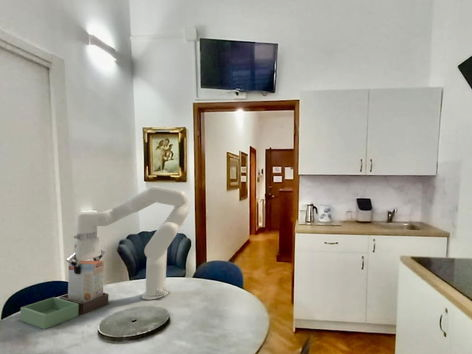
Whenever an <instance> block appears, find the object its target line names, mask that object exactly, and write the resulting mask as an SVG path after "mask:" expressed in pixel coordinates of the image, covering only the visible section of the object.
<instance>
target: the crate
mask: <svg viewBox="0 0 472 354" xmlns="http://www.w3.org/2000/svg"><path fill="white" fill-rule="evenodd" d="M109 296H110V295H109V293H106V292H103V296H101V297H98V298H95V299H92V300H90V301H87V302H84V303H82V302H78V301H75V300H71V299H68V293H66V294H64V295H60V296H58V298H60V299H63V300H67V301H70V302H74V303H77V304H79V307H78V315H85V314H87V313H89V312H92V311H94V310H98V309H100V308H102V307H105V306H107V305H109Z"/></svg>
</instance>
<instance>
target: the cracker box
mask: <svg viewBox="0 0 472 354" xmlns="http://www.w3.org/2000/svg"><path fill="white" fill-rule="evenodd" d="M79 266H80V274H75V273H74V266H73V265H71V264H70V263H68V275H67V276H68V277H67V280H68V283H67V284H68V285H67V294H68V299H71V300H75V301H78V302H82V303H84V302H87V301H90V300H92V299H95V298H98V297H101V296H103V293H104V270H105V269H104V268H105V267H104V260H100V261H94V260H82V261H81V263H80V264H79Z"/></svg>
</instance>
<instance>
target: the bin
mask: <svg viewBox="0 0 472 354" xmlns="http://www.w3.org/2000/svg"><path fill="white" fill-rule="evenodd" d="M78 307H79V304H77V303H74V302H70V301H67V300H63V299H60V298H59V297H56V296H53V297H50V298H46V299H44V300H40V301H37V302H34V303H31V304H27V305H25V306H21V307H20V311H19V312H20V315H19V321H20V322H24V323H26V324H29V325H32V326H34V327H37V328H40V329H43V330H47V329H49V328H51V327H54V326H56V325H59V324H61V323H65V322H67V321H69V320H71V319H74V318H76V317H79V314H78Z"/></svg>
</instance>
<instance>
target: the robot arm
mask: <svg viewBox="0 0 472 354" xmlns="http://www.w3.org/2000/svg"><path fill="white" fill-rule="evenodd" d="M156 203H157V204H162V205H168V206H172V207H173V206H174V207H173V209H172V210H171V212H170V213H169V215H167V217H166V219H165V220H164V221H163V223H161V225H159V227H158V228H157V230H156V231H155V232H154V234H153V235H152V237H151V238H150V240H149V241H148V242H147V243H146V245H145V247H144V250H143V252H144V256H145V257H146V267H145V268H146V269H145V291H144V293H142V294H141V298H142V299H143V300H148V301H149V300H151V301H152V300H156V299H161V298H163V297H165V296H167V295H168V294H169V292H170V289H168V286H167V285H166V283H167V261H168V259H167V258H168V248H169V247H170V245H171V244H172V242H173V241H174V239H175V238H176V236H177V234H178V232H179V230H180V228H181V226H182V225H183V223H184V221H185V220H186V218H187V216H188V215H189V213H190V210H191V200H190V197H189V196H188V194H187V193H186V192H185V191H183V190H176V189H171V188H166V187H162V186H160V185H151V186H150V187H148V188H147V189H145V190H143V191H141V192H139V193H137V194H135V195H133V196H130V197H129V198H127V199H126V200H125V201H124V202H121V203H120V204H117V205H116V206H114V207H112V208H110V209H106V210H104V211H99V212H96V211H82V212H79V213H78V214H77V228H76V229H77V233H76V235H74V236H73V239H76V240H75V241H74V245H73V251H72V255H70V256H69V257H67V259H66V263H68V264H71V265H73V266H74V273H75V274H80V266H79V264H80V263H81V261H88V260H91V259H93V260H92V261H101V259H102V258H103V256H104V255H105V254H106V251H105V250H103V249H102V247H101V240H100V237H98V227H107V226H110V225H111V224H115V222H116V223H117V222H118V221H120V220H122V219H124V218H126V217H128V216H130V215H132V214H134V213H138V212H140V211H141V210H143V209H145V208H148V207H150V206H152V205H154V204H156Z"/></svg>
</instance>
